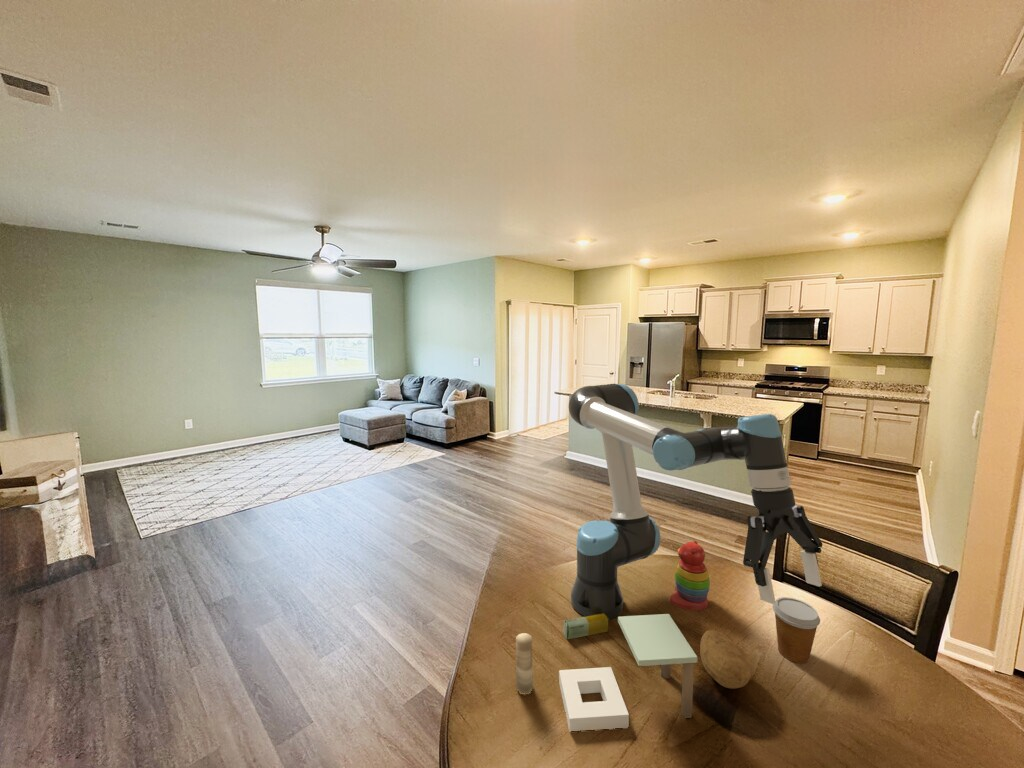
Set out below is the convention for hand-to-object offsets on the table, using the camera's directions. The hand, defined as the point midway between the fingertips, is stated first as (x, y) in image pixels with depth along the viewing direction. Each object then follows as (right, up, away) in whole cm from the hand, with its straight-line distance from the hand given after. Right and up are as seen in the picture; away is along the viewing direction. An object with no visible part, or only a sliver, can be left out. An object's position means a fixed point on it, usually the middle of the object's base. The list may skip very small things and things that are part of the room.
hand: (791, 592), depth 84 cm
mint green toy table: (-26, -25, +6) cm, 37 cm away
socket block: (-40, -26, +4) cm, 48 cm away
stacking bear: (-4, -22, +38) cm, 44 cm away
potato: (-9, -25, +11) cm, 28 cm away
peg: (-55, -26, +8) cm, 61 cm away
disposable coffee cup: (+12, -24, +17) cm, 32 cm away
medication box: (-38, -24, +25) cm, 51 cm away
